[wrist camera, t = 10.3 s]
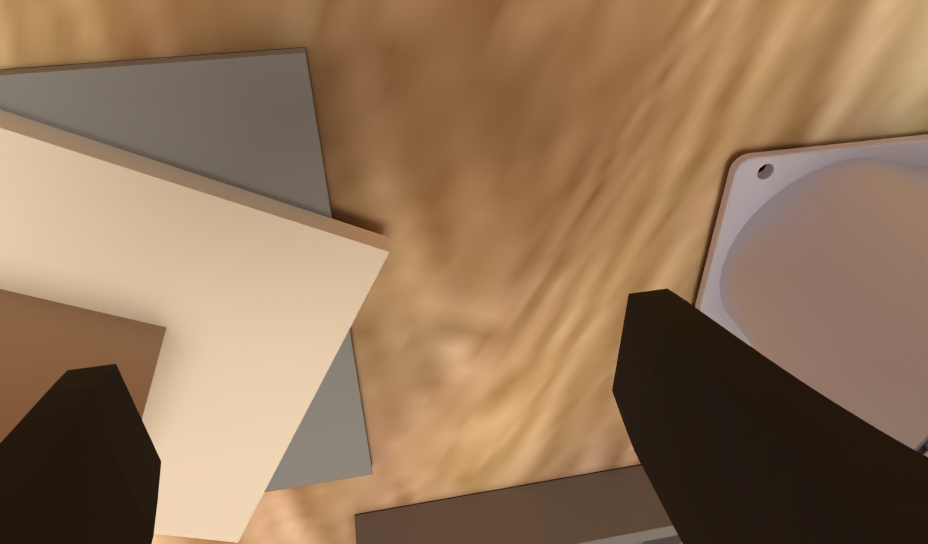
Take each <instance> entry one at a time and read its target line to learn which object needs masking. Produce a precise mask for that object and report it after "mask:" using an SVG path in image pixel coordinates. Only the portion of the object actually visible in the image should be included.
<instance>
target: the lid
mask: <svg viewBox="0 0 928 544" xmlns="http://www.w3.org/2000/svg"><path fill="white" fill-rule="evenodd" d="M389 252H390V251H389V245H388V240H387V236H384V235H381V234H377V233H374V232H371V231H368V230H365V229H362V228H359V227H356V226H353V225H350V224H347V223H344V222H341V221H338V220H335V219H332V218H329V217H326V216H323V215H320V214H317V213H314V212H311V211H308V210H305V209H301V208H298V207H295V206H292V205H289V204H286V203H283V202H280V201H277V200H274V199H271V198H268V197H265V196H262V195H259V194H256V193H253V192H250V191H247V190H244V189H241V188H238V187H235V186H232V185H229V184H225V183H222V182H219V181H216V180H213V179H210V178H207V177H204V176H201V175H198V174H195V173H192V172H189V171H186V170H183V169H180V168H177V167H174V166H171V165H168V164H165V163H162V162H159V161H156V160H153V159H149V158H146V157H143V156H140V155H137V154H134V153H131V152H128V151H125V150H122V149H119V148H116V147H113V146H110V145H107V144H104V143H101V142H98V141H95V140H92V139H89V138H86V137H83V136H80V135H77V134H73V133H70V132H67V131H64V130H61V129H58V128H55V127H52V126H49V125H46V124H43V123H40V122H37V121H34V120H31V119H28V118H25V117H22V116H19V115H16V114H13V113H10V112H7V111H4V110H1V109H0V443H1V442H2V441H3V440H4V439H5V437H6V436H7V435H8V434H9V433H10V432H11V431H12V430H13V429H14V428H15V426H16V425H17V424H18V423H19V422H20V421H21V420H22V419H23V418H24V416H25V415H26V414H27V413H28V412H29V411H30V410H31V409H32V408H33V406H34V405H35V404H36V403H37V402H38V401H39V400H40V399H41V398H42V397H43V395H44V394H45V393H46V392H47V391H48V390H49V389H50V388H51V387H52V386H53V385H54V384H55V383H56V381H57V380H58V379H59V378H60V377H61V376H62V375H63V374H64V373H65V372H66V371H67V370H73V369H80V368H88V367H95V366H102V365H110V364H116V365H117V367H118V369H119V371H120V373H121V375H122V378H123V380H124V382H125V384H126V386H127V388H128V391H129V393H130V395H131V397H132V399H133V401H134V404H135V406H136V408H137V410H138V412H139V414H140V417H141V419H142V421H143V423H144V425H145V427H146V430H147V432H148V434H149V436H150V438H151V440H152V442H153V445H154V447H155V449H156V451H157V453H158V455H159V458H160V460H161V470H160V481H159V492H158V502H157V511H156V519H155V527H154V534H163V535H172V536H181V537H191V538H200V539H209V540H219V541H228V542H237V543H238V541H239V539H240V537H241V535H242V534H243V532H244V530H245V528H246V526H247V524H248V522H249V520H250V518H251V516H252V514H253V512H254V511H255V509H256V507H257V505H258V503H259V501H260V499H261V497H262V495H263V493H264V491H265V490H266V488H267V486H268V484H269V482H270V480H271V478H272V476H273V474H274V472H275V470H276V469H277V467H278V465H279V463H280V461H281V459H282V457H283V455H284V453H285V451H286V449H287V447H288V446H289V444H290V442H291V440H292V438H293V436H294V434H295V432H296V430H297V428H298V426H299V425H300V423H301V421H302V419H303V417H304V415H305V413H306V411H307V409H308V407H309V405H310V403H311V402H312V400H313V398H314V396H315V394H316V392H317V390H318V388H319V386H320V384H321V382H322V381H323V379H324V377H325V375H326V373H327V371H328V369H329V367H330V365H331V363H332V361H333V360H334V358H335V356H336V354H337V352H338V350H339V348H340V346H341V344H342V342H343V340H344V338H345V337H346V335H347V333H348V331H349V329H350V327H351V325H352V323H353V321H354V319H355V317H356V316H357V314H358V312H359V310H360V308H361V306H362V304H363V302H364V300H365V298H366V296H367V294H368V293H369V291H370V289H371V287H372V285H373V283H374V281H375V279H376V277H377V275H378V273H379V272H380V270H381V268H382V266H383V264H384V262H385V260H386V258H387V256H388V254H389Z"/></svg>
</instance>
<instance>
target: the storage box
mask: <svg viewBox="0 0 928 544" xmlns="http://www.w3.org/2000/svg"><path fill="white" fill-rule="evenodd" d="M355 528H356V544H683V543H682V542H681V540H680V538H679V536H678V534H677V532H676V530H675V528H674V526H673V524H672V522H671V521H670V519H669V517H668V515H667V513H666V511H665V509H664V507H663V505H662V503H661V502H660V500H659V498H658V496H657V494H656V492H655V490H654V488H653V486H652V484H651V482H650V480H649V478H648V476H647V474H646V472H645V471H644V469H643V467H642V465H638V466H633V467H627V468H621V469H615V470H610V471H604V472H598V473H593V474H587V475H581V476H576V477H570V478H564V479H559V480H553V481H547V482H542V483H536V484H530V485H525V486H519V487H513V488H507V489H502V490H496V491H490V492H485V493H479V494H473V495H468V496H462V497H456V498H451V499H445V500H439V501H434V502H428V503H422V504H416V505H411V506H405V507H399V508H394V509H388V510H382V511H377V512H371V513H365V514H360V515H355Z"/></svg>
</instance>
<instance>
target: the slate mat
mask: <svg viewBox="0 0 928 544" xmlns="http://www.w3.org/2000/svg"><path fill="white" fill-rule="evenodd" d="M0 109H1V110H4V111H7V112H10V113H13V114H16V115H19V116H22V117H25V118H28V119H31V120H34V121H37V122H40V123H43V124H46V125H49V126H52V127H55V128H58V129H61V130H64V131H67V132H70V133H73V134H77V135H80V136H83V137H86V138H89V139H92V140H95V141H98V142H101V143H104V144H107V145H110V146H113V147H116V148H119V149H122V150H125V151H128V152H131V153H134V154H137V155H140V156H143V157H146V158H149V159H153V160H156V161H159V162H162V163H165V164H168V165H171V166H174V167H177V168H180V169H183V170H186V171H189V172H192V173H195V174H198V175H201V176H204V177H207V178H210V179H213V180H216V181H219V182H222V183H225V184H229V185H232V186H235V187H238V188H241V189H244V190H247V191H250V192H253V193H256V194H259V195H262V196H265V197H268V198H271V199H274V200H277V201H280V202H283V203H286V204H289V205H292V206H295V207H298V208H301V209H305V210H308V211H311V212H314V213H317V214H320V215H323V216H326V217H329V218H332V212H331V206H330V200H329V194H328V187H327V181H326V175H325V168H324V162H323V156H322V150H321V143H320V137H319V131H318V124H317V118H316V112H315V106H314V99H313V93H312V87H311V81H310V74H309V68H308V62H307V55H306V49H305V48H292V49H278V50H265V51H251V52H237V53H224V54H210V55H196V56H183V57H169V58H156V59H142V60H128V61H115V62H101V63H87V64H74V65H60V66H47V67H33V68H19V69H6V70H0ZM370 474H373V473H372V464H371V458H370V451H369V445H368V439H367V432H366V426H365V420H364V414H363V407H362V401H361V395H360V388H359V382H358V376H357V370H356V363H355V357H354V351H353V344H352V338H351V332H350V329H349V331H348V333H347V335H346V337H345V338H344V340H343V342H342V344H341V346H340V348H339V350H338V352H337V354H336V356H335V358H334V360H333V361H332V363H331V365H330V367H329V369H328V371H327V373H326V375H325V377H324V379H323V381H322V382H321V384H320V386H319V388H318V390H317V392H316V394H315V396H314V398H313V400H312V402H311V403H310V405H309V407H308V409H307V411H306V413H305V415H304V417H303V419H302V421H301V423H300V425H299V426H298V428H297V430H296V432H295V434H294V436H293V438H292V440H291V442H290V444H289V446H288V447H287V449H286V451H285V453H284V455H283V457H282V459H281V461H280V463H279V465H278V467H277V469H276V470H275V472H274V474H273V476H272V478H271V480H270V482H269V484H268V486H267V488H266V490H265V491H264V492H269V491H275V490H281V489H287V488H293V487H299V486H305V485H311V484H317V483H323V482H329V481H334V480H340V479H346V478H352V477H358V476H364V475H370Z"/></svg>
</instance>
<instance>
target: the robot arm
mask: <svg viewBox="0 0 928 544" xmlns="http://www.w3.org/2000/svg"><path fill="white" fill-rule="evenodd" d="M766 164H767V165H766ZM763 165H766V167H765V169H764V170H762V171H761V172H759V173H758V171H759V169H760V168H761V167H762V166H763ZM751 346H754V348H755V349H756V350H757V351H756V350H755V349H754V348H752V347H751ZM612 391H613V394H614V397H615V400H616V402H617V405H618V408H619V411H620V414H621V417H622V419H623V422H624V425H625V427H626V430H627V433H628V435H629V438H630V440H631V443H632V446H633V448H634V451H635V453H636V455H637V457H638V459H639V461H640V463H641V465H642V467H643V469H644V471H645V472H646V474H647V476H648V478H649V480H650V482H651V484H652V486H653V488H654V490H655V492H656V494H657V496H658V498H659V500H660V502H661V503H662V505H663V507H664V509H665V511H666V513H667V515H668V517H669V519H670V521H671V522H672V524H673V526H674V528H675V530H676V532H677V534H678V536H679V538H680V540H681V542H682V543H683V544H928V134H924V135H915V136H906V137H896V138H887V139H877V140H868V141H858V142H849V143H840V144H830V145H821V146H811V147H802V148H793V149H783V150H774V151H764V152H755V153H747V154H744V155H741V156H740V157H738V158H737V159H736V160H735V161H734V162H733V163H732V165H731V167H730V169H729V173H728V177H727V181H726V185H725V189H724V193H723V197H722V201H721V205H720V209H719V212H718V216H717V220H716V224H715V228H714V232H713V236H712V240H711V244H710V248H709V252H708V256H707V260H706V264H705V268H704V272H703V276H702V280H701V284H700V288H699V292H698V296H697V300H696V304H695V307H694V306H693V305H691V304H690V303H688V302H687V301H685V300H684V299H682V298H681V297H679V296H678V295H676V294H675V293H673V292H672V291H670V290H669V289H662V290H654V291H647V292H640V293H632V294H629V296H628V302H627V308H626V314H625V319H624V325H623V331H622V337H621V343H620V349H619V354H618V360H617V366H616V372H615V378H614V383H613V389H612ZM160 470H161V460H160V458H159V455H158V453H157V451H156V449H155V447H154V445H153V442H152V440H151V438H150V436H149V434H148V432H147V430H146V427H145V425H144V423H143V421H142V419H141V417H140V414H139V412H138V410H137V408H136V406H135V404H134V401H133V399H132V397H131V395H130V393H129V391H128V388H127V386H126V384H125V382H124V380H123V378H122V375H121V373H120V371H119V369H118V367H117V365H116V364H110V365H102V366H95V367H88V368H80V369H73V370H67V371H66V372H65V373H64V374H63V375H62V376H61V377H60V378H59V379H58V380H57V381H56V383H55V384H54V385H53V386H52V387H51V388H50V389H49V390H48V391H47V392H46V393H45V394H44V395H43V397H42V398H41V399H40V400H39V401H38V402H37V403H36V404H35V405H34V406H33V408H32V409H31V410H30V411H29V412H28V413H27V414H26V415H25V416H24V418H23V419H22V420H21V421H20V422H19V423H18V424H17V425H16V426H15V428H14V429H13V430H12V431H11V432H10V433H9V434H8V435H7V436H6V437H5V439H4V440H3V441H2V442H1V443H0V544H151V543H152V539H153V534H154V527H155V519H156V511H157V502H158V492H159V481H160Z"/></svg>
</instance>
